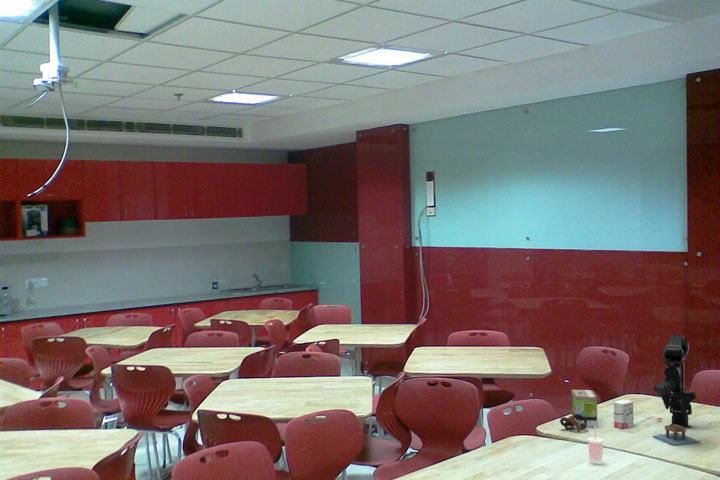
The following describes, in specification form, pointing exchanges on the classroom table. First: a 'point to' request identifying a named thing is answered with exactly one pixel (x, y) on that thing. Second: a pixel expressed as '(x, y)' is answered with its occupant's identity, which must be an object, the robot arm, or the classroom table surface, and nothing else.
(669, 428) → the walnut stool
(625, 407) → the ink box
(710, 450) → the classroom table surface
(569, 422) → the toy cannon
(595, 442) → the beverage cup
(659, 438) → the rubber mat
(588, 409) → the tea box
